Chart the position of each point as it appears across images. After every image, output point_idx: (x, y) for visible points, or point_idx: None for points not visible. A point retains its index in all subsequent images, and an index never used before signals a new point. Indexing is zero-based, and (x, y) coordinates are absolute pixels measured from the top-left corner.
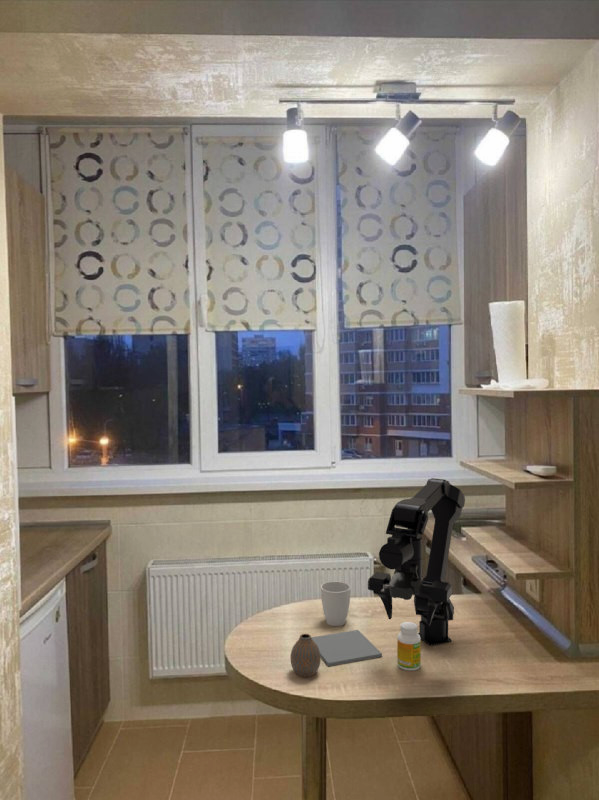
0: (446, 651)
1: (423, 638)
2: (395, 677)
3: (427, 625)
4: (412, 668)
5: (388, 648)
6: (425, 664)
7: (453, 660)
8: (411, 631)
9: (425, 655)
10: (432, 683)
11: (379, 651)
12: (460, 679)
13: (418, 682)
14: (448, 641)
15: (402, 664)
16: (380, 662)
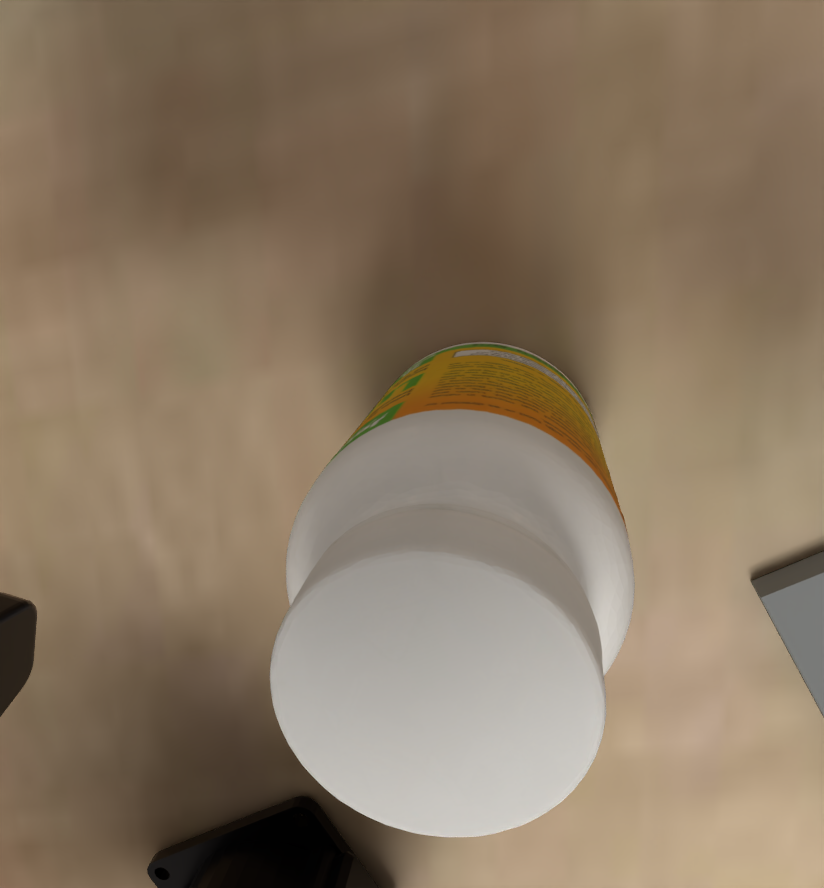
0: (180, 721)
1: (358, 872)
2: (621, 181)
3: (14, 599)
4: (443, 349)
5: (675, 736)
6: None
7: (114, 588)
8: (384, 533)
9: None
10: (249, 139)
11: (785, 636)
12: (24, 274)
13: (382, 127)
14: (171, 852)
15: (546, 368)
16: (772, 470)
